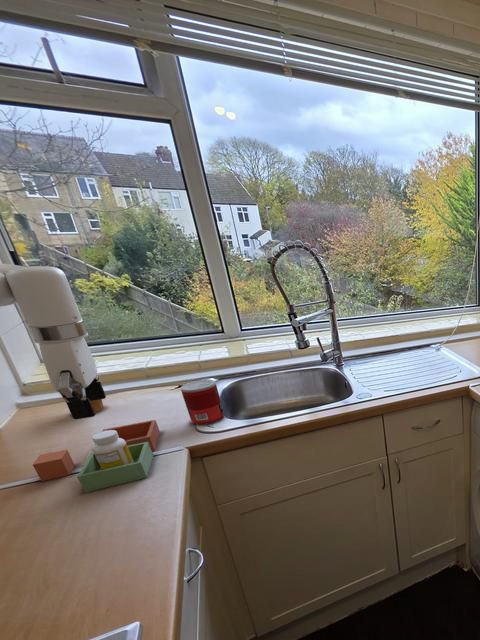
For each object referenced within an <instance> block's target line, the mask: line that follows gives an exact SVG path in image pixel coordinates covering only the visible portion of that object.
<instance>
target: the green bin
mask: <svg viewBox="0 0 480 640" xmlns="http://www.w3.org/2000/svg"><path fill="white" fill-rule="evenodd" d="M127 447H128V449H129V452H130V454H131V456H132V459H133V461H134V463H131V464H126V465H122V466H118V467H113V468H109V469H104V470H102V469H101V467H100V465H99V462H98V460H97V458H96V456H95V454H94V452H90V453H89V455H88V456H87V459H86V460H85V461H84V464H83V465H82V468H81V469H80V471H79V473H78V474H77V476H76V477H77V480H78V482H79V484H80V486H81V488H82V490H83V492H84V493H88V492H92V491H97V490H102V489H105V488H109V487H113V486H114V487H115V486H117V485H122V484H125V483H130V482H134V481H138V480H142V479H146V478H148V475H149V471H150V468H151V465H152V462H153V458H154V454H153V451H151V448H150V446H149V443H148V442H144V443H139V444H134V445H129V446H127Z"/></svg>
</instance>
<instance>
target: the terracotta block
mask: <svg viewBox="0 0 480 640" xmlns="http://www.w3.org/2000/svg"><path fill="white" fill-rule="evenodd" d="M32 466H33V469H34V470H35V472H36V474H37V476H38V477H39V480H40V482H45V481H50V480H54V479H59V478H64V477H68V476H70V475H71V474H72V471H73V470H74V468H75V467H76V464H75V463H74V460H73V458H72V456H71V454H70V452H69V450H68V449H64V450H57V451H52V452H48V453H43V454H39V455H38V457H37V458H36V459H35V460H34V462H33V463H32Z"/></svg>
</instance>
